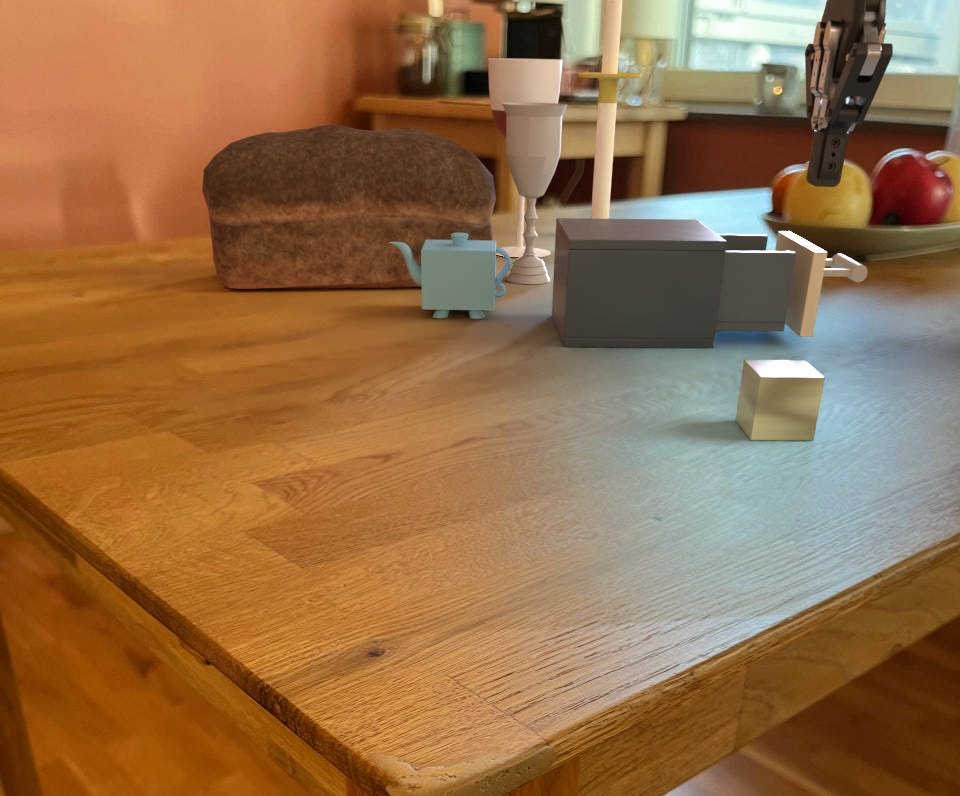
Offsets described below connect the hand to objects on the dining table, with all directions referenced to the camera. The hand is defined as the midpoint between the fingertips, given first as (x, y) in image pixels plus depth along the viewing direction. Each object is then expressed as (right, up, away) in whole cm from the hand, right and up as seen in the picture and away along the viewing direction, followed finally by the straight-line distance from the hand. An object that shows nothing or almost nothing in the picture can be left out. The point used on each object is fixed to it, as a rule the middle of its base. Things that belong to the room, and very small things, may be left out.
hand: (821, 185), depth 78 cm
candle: (-9, +22, +67) cm, 71 cm away
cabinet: (-12, -5, +19) cm, 23 cm away
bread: (-41, +7, +39) cm, 57 cm away
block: (-5, -20, -6) cm, 21 cm away
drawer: (0, -4, +19) cm, 20 cm away
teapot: (-29, -2, +25) cm, 38 cm away
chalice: (-21, +7, +40) cm, 45 cm away
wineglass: (-21, +16, +55) cm, 61 cm away
